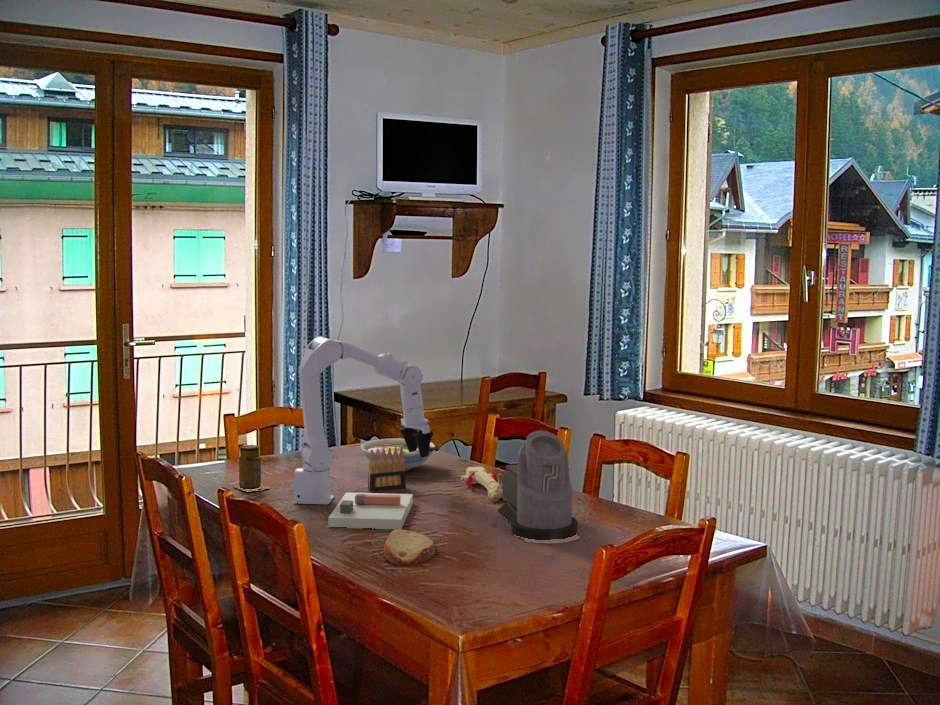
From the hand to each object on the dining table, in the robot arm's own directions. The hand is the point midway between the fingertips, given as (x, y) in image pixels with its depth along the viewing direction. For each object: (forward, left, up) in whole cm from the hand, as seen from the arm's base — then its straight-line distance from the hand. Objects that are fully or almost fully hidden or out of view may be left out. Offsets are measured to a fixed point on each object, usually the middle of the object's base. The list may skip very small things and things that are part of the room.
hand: (418, 453), depth 282 cm
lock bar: (-8, -25, -8) cm, 27 cm away
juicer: (+33, -32, -11) cm, 47 cm away
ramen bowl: (-9, +24, -11) cm, 27 cm away
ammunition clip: (-9, 0, -11) cm, 14 cm away
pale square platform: (-9, -26, -10) cm, 30 cm away
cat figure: (+19, +1, -11) cm, 22 cm away
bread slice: (+3, -54, -11) cm, 55 cm away
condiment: (-47, -3, -11) cm, 48 cm away
